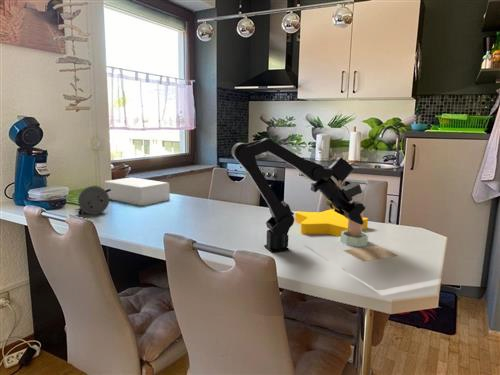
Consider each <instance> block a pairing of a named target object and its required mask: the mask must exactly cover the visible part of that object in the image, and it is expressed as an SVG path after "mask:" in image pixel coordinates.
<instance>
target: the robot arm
mask: <svg viewBox="0 0 500 375" xmlns="http://www.w3.org/2000/svg"><path fill="white" fill-rule="evenodd" d="M267 152H268V154H271V155H273V156H275V157H276V158H278V159H279V160H282V161H283V162H285V163H287V164H288V165H291V166H292V167H293V168H295V169H296V170H297V171H298V172H299V173H300V174H301V175H302V176H303V177H305V178H306V179H308V180H311V181H313V182H312V183H311V184H310V185H311V187H310V191H312V192H314V193H317V191H319V192H320V193H321V194H322V195H323V196H324V197H325V198H324V199H325V200H326V206H327V208H329V210H330V209H332V210H333V209H334V211H335V212H337V213H339V214H341V215H343V216H345V217H346V218H347V219H349V220H351V221H354V222H356V223H358V224H361V225H362V224H363V223H364V222H363V220H362V218H361V215H360V214H361V213H362V212H363V213H364V211H365V210H366V206H365V205H364V204H363V202H359V201H358V200H357V201H358V202H357V201H356V200H354V199H353V197H355V196H358V195H361V194H362V193H363V189H362V187H361V184H360V183H359V182H356V181H351V182H350V181H349V180H346V179H347V177H349V176H350V175H351V174H352V173H353V172H354V171H355V168H354V166H353V165H352V164H351V163H349V162H348V161H346V160H345V159H344V158H343V157H342V156H338V157H337V158H336V159H335V160H334V162H333V163H331V164H330V165H329V166H323V165H322V164H319V163H317V162H314V161H311V160H308V159H305V158H303V157H301V156H299V155H298V154H295V153H294V152H292V151H290V150H289V149H287V148H285V147H284V146H282V145H281V144H278V143H277V142H275V141H274V139H272V138H268V137H265V138H262V139H259V140H255V141H254V140H253V141H250V142H247V143H244V142H237V143H235V144H234V145H233V146H232V148H231V155H232V157H233V158H234V160H235V161H236V162H238V164H239V165H240V166H241V167H242V168H243V169H244V170H245V171H246V172H247V174H248V176H249V177H250V180H251V181H252V182H253V183H254V185H255V186H256V189H257V190H258V191H259V193H260V195H261V196H262V198H263V199H264V200H265V202H266V204H267V206H268V208H269V213H270V215H271V216H270V217H269V218H268V220H266V222H265V224H266V228H267V230H266V244H263V245H264V246H263V247H265V249H267V250H268V251H270V252H271V253H279V252H286V251H287V252H288V251H290V249H289V235H288V234H289V231H290V228H291V227H292V226H293V225H294V223H295V216H294V215H295V212H293V211H292V209H291V207H290V205H289V204H288V203H287V202H286V201H284V200H281V201H280V199H279V198H278V196H277V195H276V193H275V191H274V190H273V188H272V187H271V185H270V183H269V182H268V180H267V179H266V177H265V176H264V173H263V172H262V171H261V168H260V167H259V165H258V163H257V159H256V156H259V155H262V154H264V153H267ZM338 182H341V183H342V186H341V187H339V185H338V184H337V183H338ZM353 200H354V201H353Z"/></svg>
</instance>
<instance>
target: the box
mask: <svg viewBox="0 0 500 375" xmlns="http://www.w3.org/2000/svg"><path fill="white" fill-rule="evenodd" d="M108 189H111V191H109V192H107V194H108V196H109V200H113V201H117V202H122V203H127V204H132V205H136V204H137V205H136V206H141V205H142V206H141V207H143V205H144V206H149V205H153V204H156V203H160V202H161V201H162V202H165V201H169V200H171V198H170V197H171V195H170V194H171V192H170V182H165V181H158V180H151V179H145V178H138V177H127V178H126V177H125V178H117V179H110V180H104V190H108ZM162 202H161V203H162ZM152 203H153V204H152ZM148 204H149V205H148Z"/></svg>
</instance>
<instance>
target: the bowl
mask: <svg viewBox="0 0 500 375" xmlns="http://www.w3.org/2000/svg"><path fill="white" fill-rule="evenodd" d="M347 233H348V231H342V233H341V236H340V240H339V241H340V242H341V243H342V244H345V245H347V246H351V247H357V248H360V247H367V246H368V243H369V234H368V233H366V232H364V231H362V236H361V237H360V238H356V237H349V236H347Z"/></svg>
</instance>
